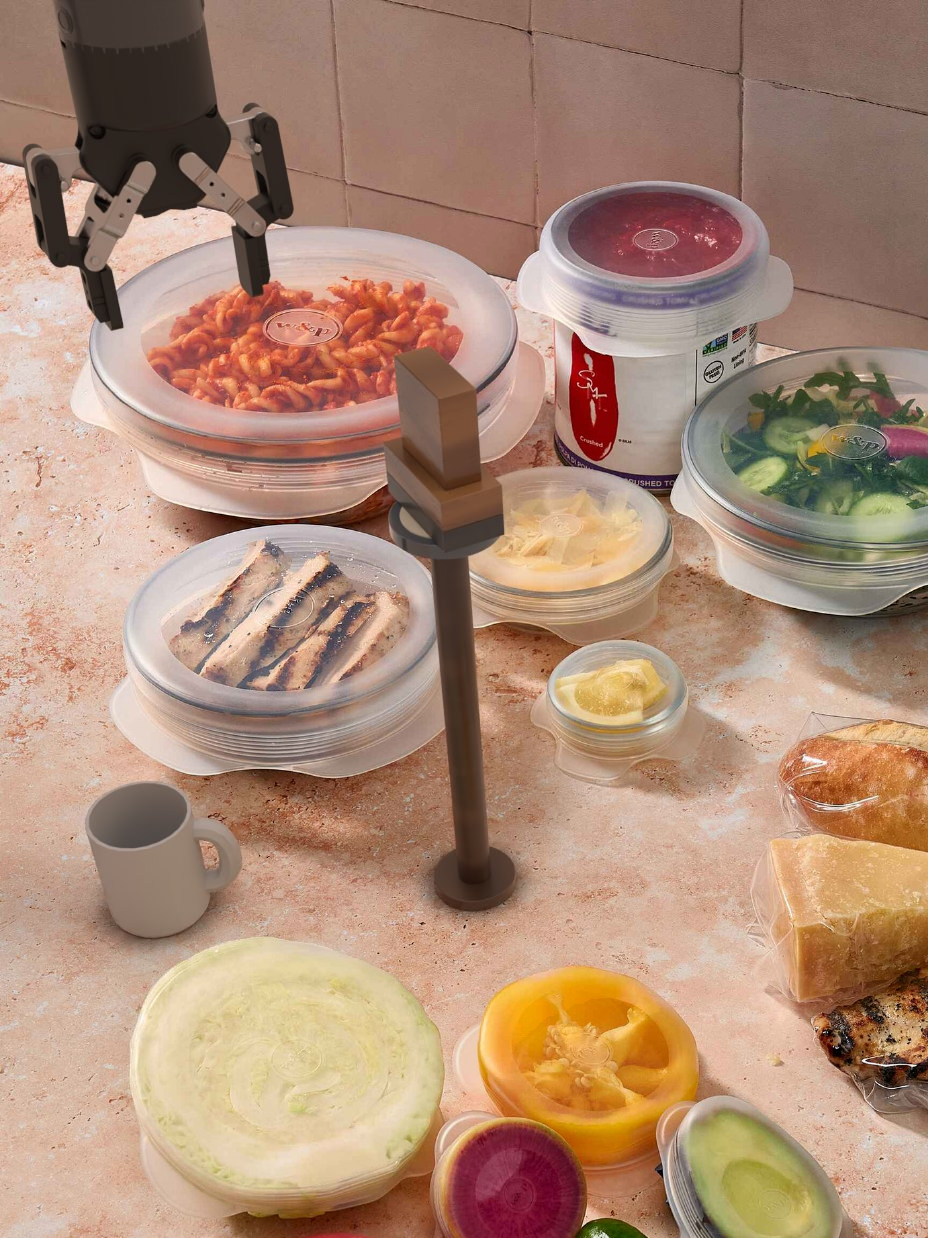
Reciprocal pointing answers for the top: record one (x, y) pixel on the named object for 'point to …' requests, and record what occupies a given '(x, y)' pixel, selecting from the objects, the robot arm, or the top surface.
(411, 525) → the plate
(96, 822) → the cup
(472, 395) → the brush
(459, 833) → the stand
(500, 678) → the top surface
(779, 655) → the top surface
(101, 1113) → the top surface
